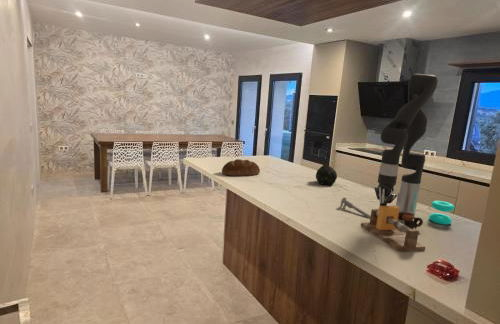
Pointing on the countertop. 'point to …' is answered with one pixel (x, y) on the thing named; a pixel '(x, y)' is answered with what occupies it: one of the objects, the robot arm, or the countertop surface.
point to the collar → (382, 217)
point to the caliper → (350, 205)
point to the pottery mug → (410, 220)
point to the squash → (326, 175)
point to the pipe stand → (394, 234)
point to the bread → (240, 168)
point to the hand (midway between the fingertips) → (382, 210)
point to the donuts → (441, 217)
